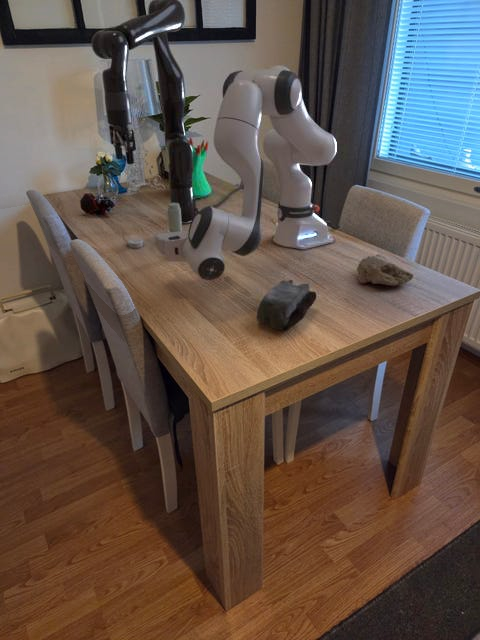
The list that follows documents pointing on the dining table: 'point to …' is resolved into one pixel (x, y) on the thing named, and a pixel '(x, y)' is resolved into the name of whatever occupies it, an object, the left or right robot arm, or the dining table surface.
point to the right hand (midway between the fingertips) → (184, 229)
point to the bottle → (174, 217)
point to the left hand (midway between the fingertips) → (125, 161)
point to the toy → (97, 204)
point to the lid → (135, 243)
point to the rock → (285, 304)
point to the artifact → (381, 271)
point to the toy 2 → (199, 171)
